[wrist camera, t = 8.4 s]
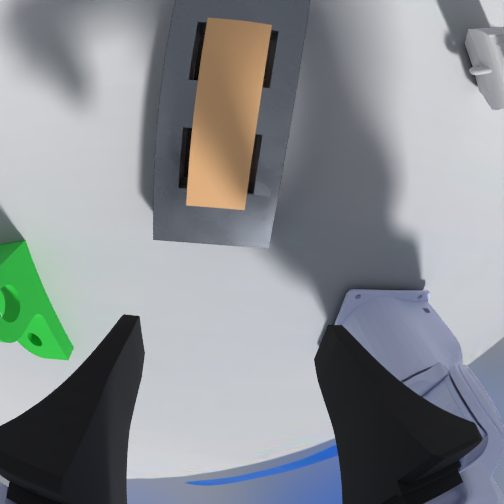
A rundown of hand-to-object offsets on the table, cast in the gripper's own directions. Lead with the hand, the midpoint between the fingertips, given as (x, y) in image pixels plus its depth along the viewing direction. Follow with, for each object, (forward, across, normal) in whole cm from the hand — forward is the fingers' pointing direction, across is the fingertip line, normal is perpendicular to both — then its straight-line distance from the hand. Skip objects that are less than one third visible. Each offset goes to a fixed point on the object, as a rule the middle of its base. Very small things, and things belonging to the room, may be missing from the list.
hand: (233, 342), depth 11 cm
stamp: (+11, -19, -18) cm, 28 cm away
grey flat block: (+10, +1, -8) cm, 13 cm away
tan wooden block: (+10, +1, -8) cm, 13 cm away
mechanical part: (+11, +18, +9) cm, 23 cm away
